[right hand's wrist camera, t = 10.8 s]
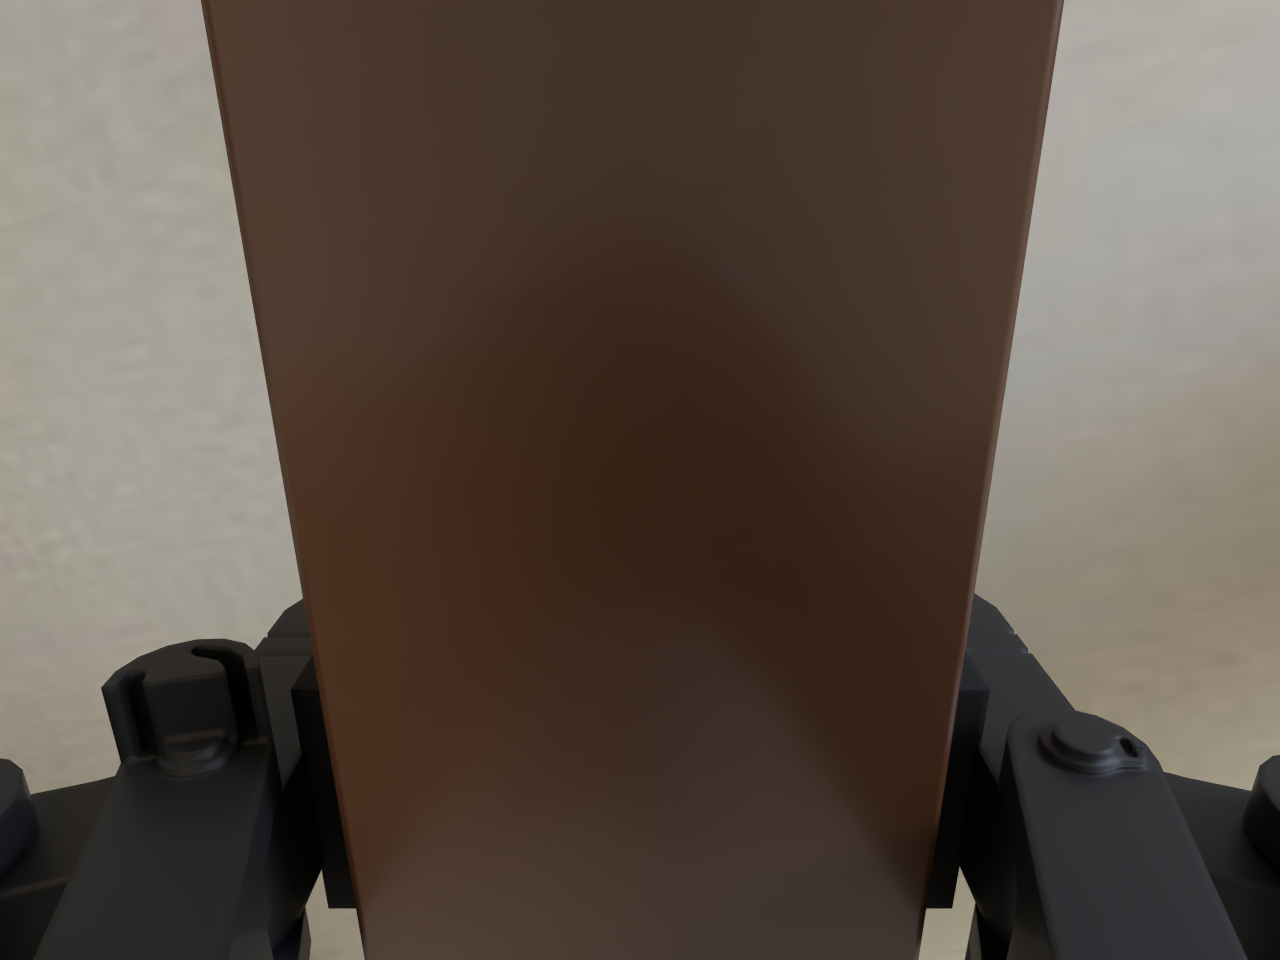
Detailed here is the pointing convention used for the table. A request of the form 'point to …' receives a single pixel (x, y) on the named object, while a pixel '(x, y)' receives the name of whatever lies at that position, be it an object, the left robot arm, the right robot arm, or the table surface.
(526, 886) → the walnut beam
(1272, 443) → the table surface
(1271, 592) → the table surface
